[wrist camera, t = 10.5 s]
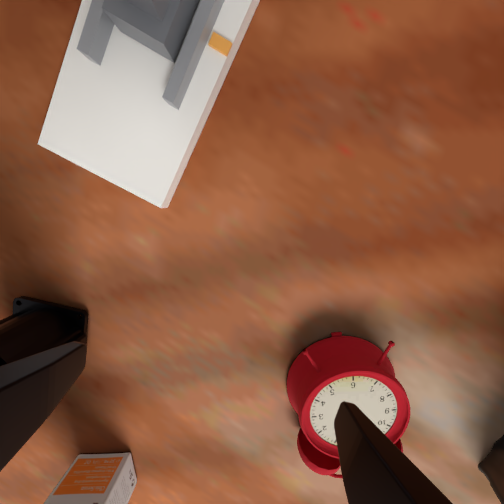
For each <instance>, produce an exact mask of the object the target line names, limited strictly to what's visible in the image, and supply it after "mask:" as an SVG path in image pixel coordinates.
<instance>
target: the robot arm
mask: <svg viewBox="0 0 504 504" xmlns="http://www.w3.org/2000/svg"><path fill="white" fill-rule="evenodd" d="M80 315H82V317H81V316H80ZM87 323H88V313H87V312H86V311H85V310H81V309H77V308H73V307H68V306H64V305H59V304H55V303H51V302H46V301H42V300H37V299H33V298H29V297H24V296H20V297H18V298H15V299H14V301H13V315H11V316H9V317H7V318H5V319H3V320H0V471H1V470H2V469H3V468H4V467H5V466H6V464H7V463H8V462H9V461H10V460H11V459H12V458H13V457H14V455H15V454H16V453H17V452H18V451H19V450H20V449H21V447H22V446H23V445H24V444H25V443H26V442H27V441H28V440H29V438H30V437H31V436H32V435H33V434H34V433H35V432H36V431H37V429H38V428H39V427H40V426H41V425H42V424H43V422H44V421H45V420H46V419H47V418H48V416H49V415H50V414H51V413H52V411H53V410H54V409H55V407H56V406H57V405H58V403H59V402H60V401H61V399H62V398H63V397H64V395H65V394H66V393H67V391H68V390H69V389H70V387H71V386H72V385H73V383H74V382H75V381H76V379H77V378H78V377H79V375H80V374H81V373H82V371H83V369H84V367H85V363H86V352H87V346H86V342H87V334H86V332H87ZM334 430H335V436H336V442H337V448H338V454H339V460H340V466H341V472H342V477H343V482H344V486H345V491H346V495H347V499H348V503H349V504H452V503H451V502H450V501H449V499H448V498H447V497H446V496H445V495H444V494H443V493H442V492H441V491H440V490H439V489H438V488H437V487H436V486H435V485H434V484H433V483H432V482H431V481H430V480H429V479H428V478H427V477H426V476H425V475H424V474H423V473H422V472H421V471H420V470H419V469H418V468H417V467H416V466H415V465H414V464H413V463H412V462H411V461H410V460H409V459H408V458H407V457H406V456H405V455H404V454H403V453H402V452H401V451H400V450H399V449H398V448H397V447H396V445H395V444H394V443H393V442H392V441H391V440H390V439H389V438H388V437H387V436H386V435H385V434H384V433H383V432H382V431H381V430H380V429H379V428H378V427H377V426H376V425H375V424H374V423H373V422H372V421H371V420H370V419H369V418H368V417H367V416H366V415H365V414H364V413H363V412H362V411H361V410H360V409H359V408H358V407H357V406H356V405H355V404H353V403H350V402H345V401H343V402H341V404H340V406H339V409H338V411H337V414H336V417H335V420H334Z"/></svg>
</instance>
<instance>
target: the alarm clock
mask: <svg viewBox="0 0 504 504" xmlns="http://www.w3.org/2000/svg"><path fill="white" fill-rule="evenodd" d="M331 334H332V337H330V338H326V339H323V340H320V341H318V342H316V343H314V344H312V345H310V346H309V347H307V348H306V349H304V350H303V351H302V352H301V353H300V354H299V355H298V356H297V358H296V359H295V360H294V362H293V364H292V365H291V367H290V370H289V373H288V377H287V393H288V397H289V401H290V403H291V405H292V407H293V409H294V410H295V411H296V413H297V414H298V417H299V423H300V426H301V428H300V431H299V433H298V438H297V446H298V450H299V454H300V456H301V458H302V460H303V461H304V463H305V464H306V465H307V466H308V467H309V468H310V469H311V470H312V471H314V472H316V473H318V474H321V475H330V476H332V477H335V478H343V477H342V475H337V474H334V473H336V472H337V471H338V469H339V468H340V460H339V454H338V448H337V442H336V436H335V430H334V420H335V417H336V414H337V411H338V409H339V406H340V404H341V402H343V401H345V402H350V403H353V404H355V405H356V406H357V407H358V408H359V409H360V410H361V411H362V412H363V413H364V414H365V415H366V416H367V417H368V418H369V419H370V420H371V421H372V422H373V423H374V424H375V425H376V426H377V427H378V428H379V429H380V430H381V431H382V432H383V433H384V434H385V435H386V436H387V437H388V438H389V439H390V440H391V441H392V442H393V443H394V444H395V445H396V447H397V448H398V449H399V450H400V451H401V452H402V453H403V447H402V443H401V440H400V437H401V436H402V435H403V433H404V432H405V430H406V428H407V426H408V423H409V419H410V404H409V401H408V398H407V395H406V392H405V390H404V388H403V387H402V385H401V384H400V383H399V381H398V380H397V379H396V378H395V373H394V369H393V366H392V364H391V362H390V361H389V359H388V358H387V356H386V355H387V353H388V351H389V350H390V348H391V347H392V346H394V345H395V343H394V342H392V341H389V342H388V344H389V345H388V347H387V348H386V350H385V351H384V353H383V352H382V351H381V350H380V349H379V348H378V347H377V346H375V345H374V344H372V343H370V342H369V341H366V340H364V339H361V338H357V337H352V336H342V332H334V333H331Z"/></svg>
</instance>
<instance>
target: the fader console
mask: <svg viewBox="0 0 504 504" xmlns="http://www.w3.org/2000/svg"><path fill="white" fill-rule="evenodd" d="M259 1H260V0H200V1H199V4H198V6H197V9H196V11H195V14H194V16H193V19H192V21H191V24H190V26H189V29H188V31H187V34H186V36H185V39H184V41H183V44H182V46H181V49H180V51H179V54H178V56H177V59H176V61H175V63H173V62H172V61H170V60H168V59H167V58H165V57H163V56H161V55H160V54H158V53H156V52H154V51H153V50H151V49H149V48H148V47H146V46H144V45H142V44H141V43H139V42H137V41H136V40H134V39H132V38H130V37H129V36H127V35H125V34H124V33H122V32H120V30H119V29H118V28H117V27H116V25H115V24H114V23H113V21H112V20H111V19H110V18H109V16H108V15H107V14H106V13H105V11H104V10H103V9H102V5H103V2H104V0H82V2H81V6H80V9H79V12H78V15H77V18H76V22H75V25H74V28H73V31H72V35H71V38H70V41H69V44H68V48H67V51H66V54H65V57H64V60H63V64H62V67H61V70H60V73H59V77H58V80H57V83H56V86H55V90H54V93H53V96H52V99H51V102H50V106H49V109H48V112H47V115H46V119H45V122H44V125H43V128H42V132H41V135H40V138H39V141H38V145H40V146H42V147H44V148H46V149H48V150H50V151H52V152H54V153H56V154H58V155H60V156H61V157H63V158H65V159H67V160H69V161H71V162H73V163H75V164H77V165H79V166H81V167H83V168H85V169H87V170H88V171H90V172H92V173H94V174H96V175H98V176H100V177H102V178H104V179H106V180H108V181H110V182H112V183H113V184H115V185H117V186H119V187H121V188H123V189H125V190H127V191H129V192H131V193H133V194H135V195H137V196H138V197H140V198H142V199H144V200H146V201H148V202H150V203H152V204H154V205H156V206H158V207H160V208H168V206H169V204H170V201H171V199H172V197H173V195H174V192H175V190H176V188H177V186H178V183H179V181H180V179H181V177H182V174H183V172H184V170H185V168H186V165H187V163H188V161H189V159H190V156H191V154H192V152H193V150H194V147H195V145H196V143H197V141H198V138H199V136H200V134H201V132H202V129H203V127H204V125H205V123H206V120H207V118H208V116H209V114H210V111H211V109H212V107H213V105H214V102H215V100H216V98H217V96H218V93H219V91H220V89H221V87H222V84H223V82H224V80H225V78H226V75H227V73H228V71H229V69H230V67H231V64H232V62H233V60H234V58H235V55H236V53H237V51H238V49H239V46H240V44H241V42H242V40H243V37H244V35H245V33H246V31H247V28H248V26H249V24H250V22H251V19H252V17H253V15H254V13H255V10H256V8H257V6H258V4H259Z"/></svg>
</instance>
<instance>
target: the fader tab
mask: <svg viewBox="0 0 504 504" xmlns="http://www.w3.org/2000/svg"><path fill="white" fill-rule="evenodd" d="M199 1H200V0H104V2H103V5H102V9H103V10H104V11H105V13H106V14H107V15H108V16H109V18H110V19H111V20H112V21H113V23H114V24H115V25H116V27H117V28H118V29H119V30H120V32H122V33H124V34H125V35H127V36H129V37H130V38H132V39H134V40H136V41H137V42H139V43H141V44H142V45H144V46H146V47H148V48H149V49H151V50H153V51H154V52H156V53H158V54H160V55H161V56H163V57H165V58H167V59H168V60H170V61H172V62H173V63H175V61H176V59H177V56H178V54H179V51H180V49H181V46H182V44H183V41H184V39H185V36H186V34H187V31H188V29H189V26H190V24H191V21H192V19H193V16H194V14H195V11H196V9H197V6H198V4H199Z"/></svg>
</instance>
